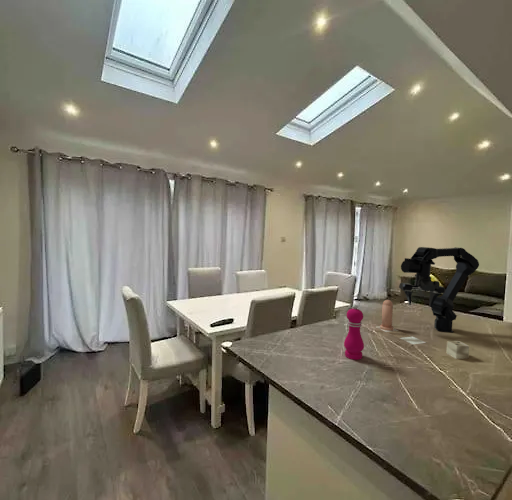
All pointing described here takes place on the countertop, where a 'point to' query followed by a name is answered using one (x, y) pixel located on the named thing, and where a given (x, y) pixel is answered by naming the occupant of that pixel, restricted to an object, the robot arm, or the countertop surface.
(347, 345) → the pepper mill
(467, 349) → the die
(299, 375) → the countertop surface
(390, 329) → the tan knob handle
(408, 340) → the board
